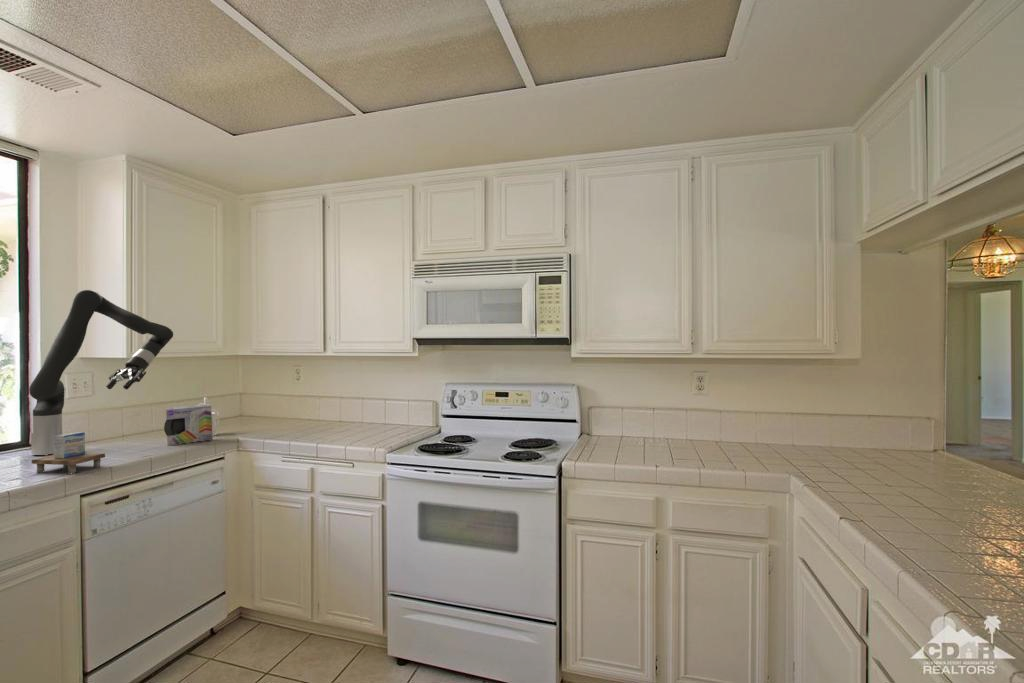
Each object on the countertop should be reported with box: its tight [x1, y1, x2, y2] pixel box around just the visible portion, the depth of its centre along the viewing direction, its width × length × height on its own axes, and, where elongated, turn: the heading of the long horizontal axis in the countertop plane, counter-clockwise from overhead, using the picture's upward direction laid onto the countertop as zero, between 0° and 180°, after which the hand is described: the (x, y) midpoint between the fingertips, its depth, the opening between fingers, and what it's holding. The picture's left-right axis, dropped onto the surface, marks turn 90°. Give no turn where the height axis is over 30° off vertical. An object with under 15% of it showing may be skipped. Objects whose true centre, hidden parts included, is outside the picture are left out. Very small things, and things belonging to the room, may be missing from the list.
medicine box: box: [53, 431, 86, 459], centre depth 181 cm, size 8×4×9 cm, turn 172°
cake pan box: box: [163, 404, 214, 446], centre depth 228 cm, size 19×5×18 cm, turn 123°
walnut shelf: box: [31, 452, 106, 475], centre depth 180 cm, size 18×12×5 cm, turn 81°
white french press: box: [196, 396, 220, 437], centre depth 246 cm, size 10×9×20 cm
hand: (116, 388), depth 207 cm, fingers open, 8 cm apart
